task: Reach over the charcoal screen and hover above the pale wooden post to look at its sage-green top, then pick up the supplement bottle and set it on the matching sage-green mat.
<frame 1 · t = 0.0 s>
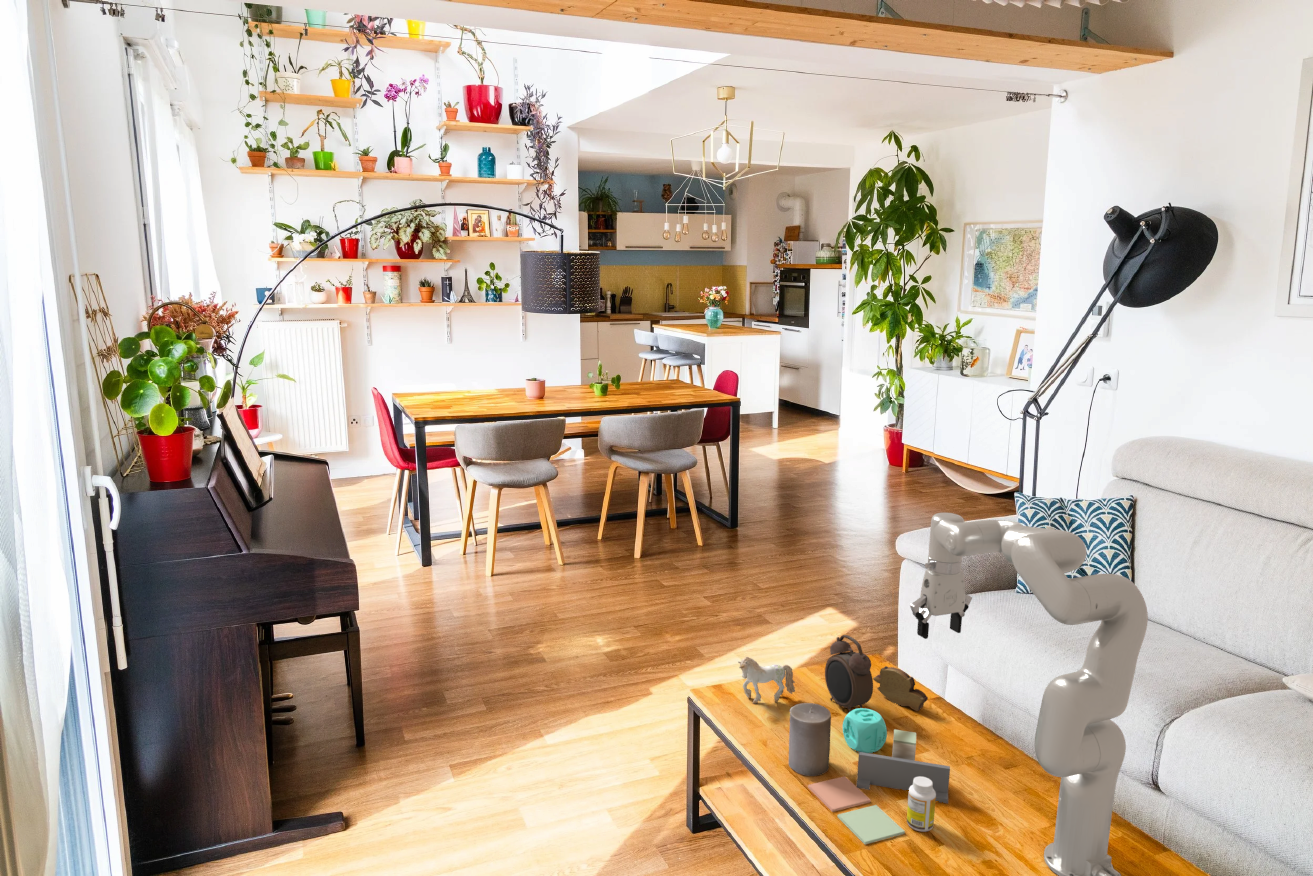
hand: (938, 633, 212), 31 cm above the table, tool pointing down, fingers open, 9 cm apart
decorative dice: (863, 746, 221), on the table
unicorn figurine: (764, 705, 240), on the table
marked post: (902, 775, 208), on the table
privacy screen: (901, 788, 202), on the table
supplement bottle: (919, 825, 189), on the table
wooden carving: (898, 704, 243), on the table
pillar candle: (807, 766, 211), on the table
alarm clock: (845, 708, 240), on the table
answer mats: (854, 809, 194), on the table
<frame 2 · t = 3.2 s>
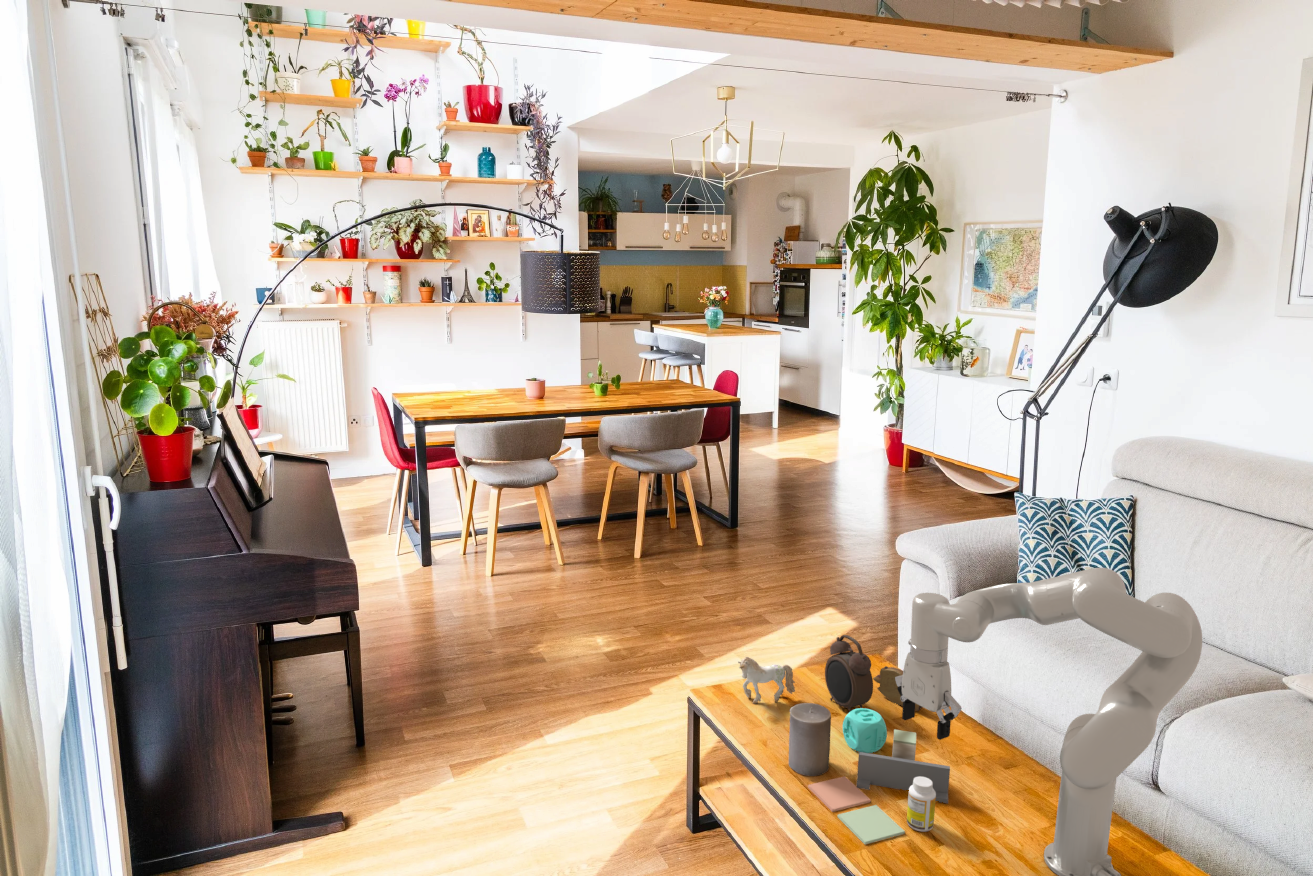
hand: (925, 727, 189), 20 cm above the table, tool pointing down, fingers open, 9 cm apart
nothing on the table moved.
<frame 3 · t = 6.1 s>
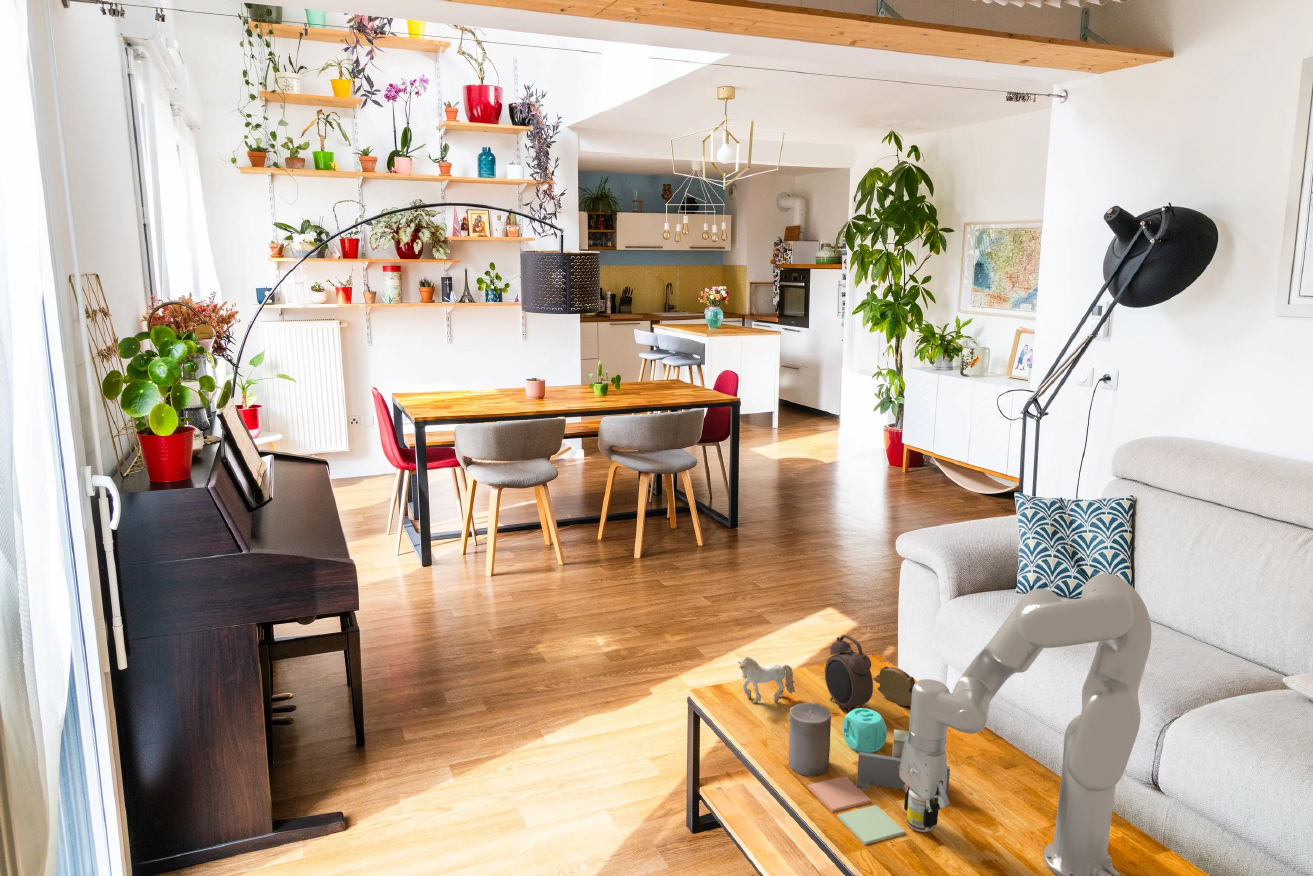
hand: (920, 816, 188), 2 cm above the table, tool pointing down, fingers closed on supplement bottle, 5 cm apart
supplement bottle: (919, 826, 189), on the table, touching gripper
everything else where it was.
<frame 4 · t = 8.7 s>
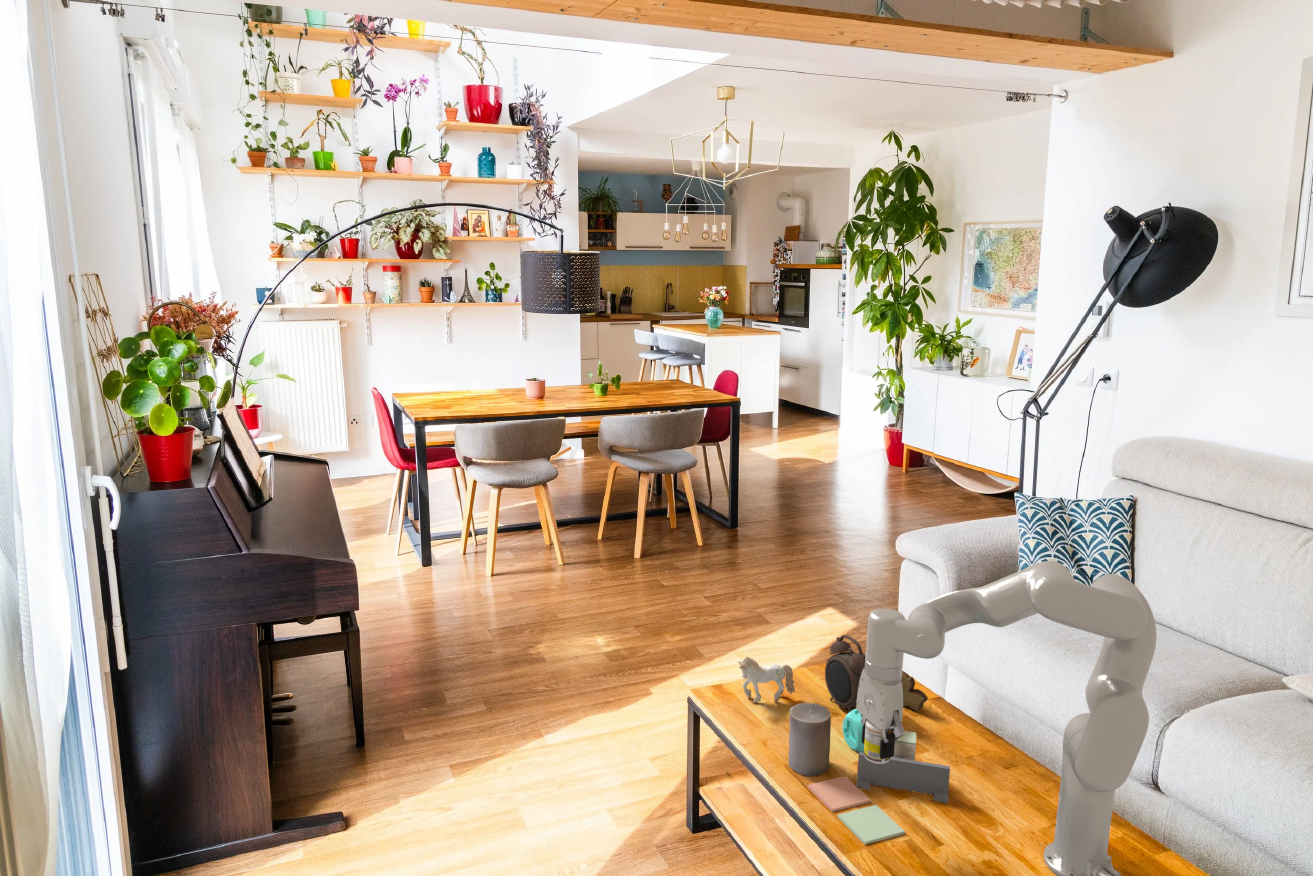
hand: (877, 749, 185), 18 cm above the table, tool pointing down, fingers closed on supplement bottle, 5 cm apart
supplement bottle: (876, 758, 186), point 15 cm above the table, touching gripper
everything else where it was.
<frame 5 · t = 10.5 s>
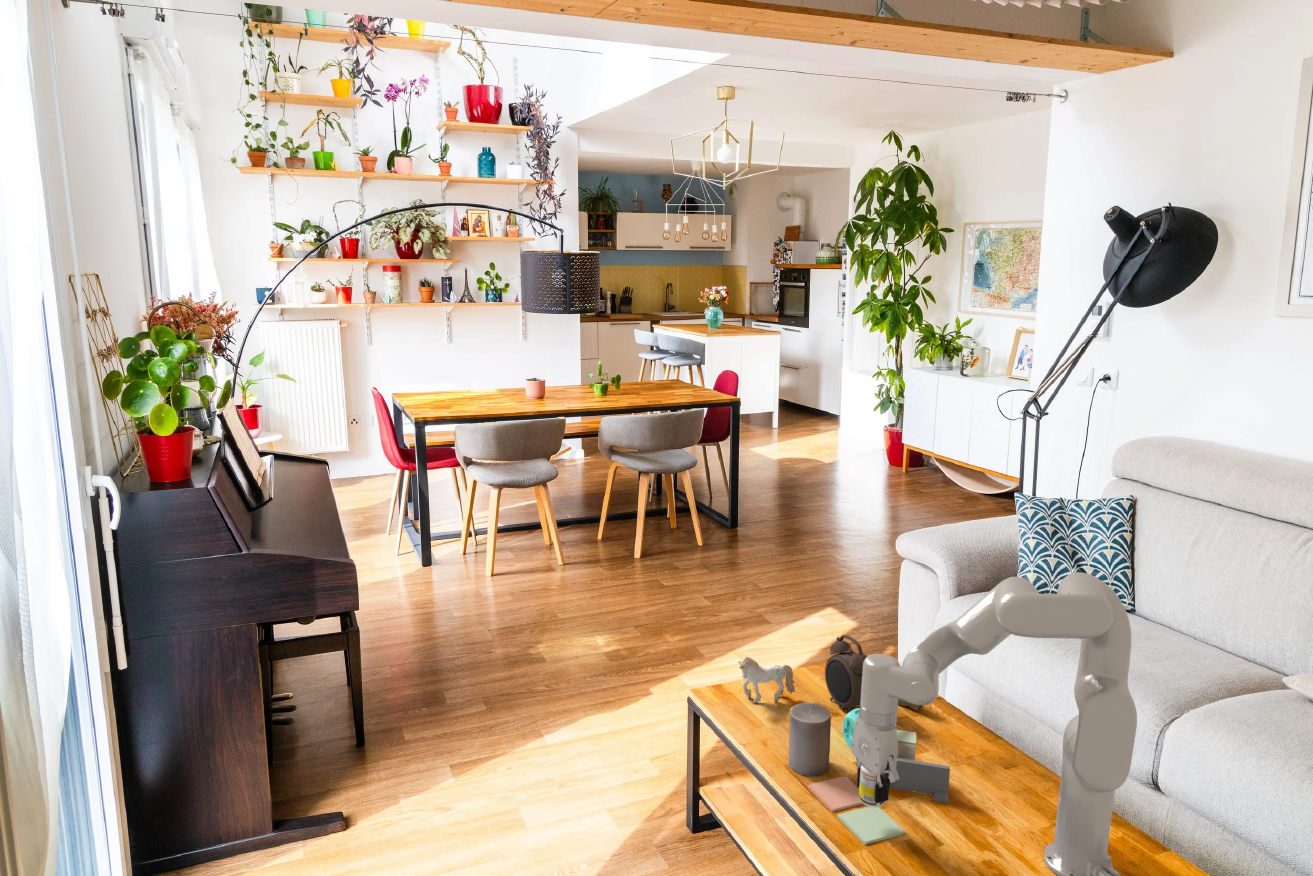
hand: (872, 792, 187), 8 cm above the table, tool pointing down, fingers closed on supplement bottle, 5 cm apart
supplement bottle: (871, 801, 188), point 5 cm above the table, touching gripper
everything else where it was.
when the fingers open (4 cm above the table, at t = 11.7 s): supplement bottle drops 1 cm, resting on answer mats.
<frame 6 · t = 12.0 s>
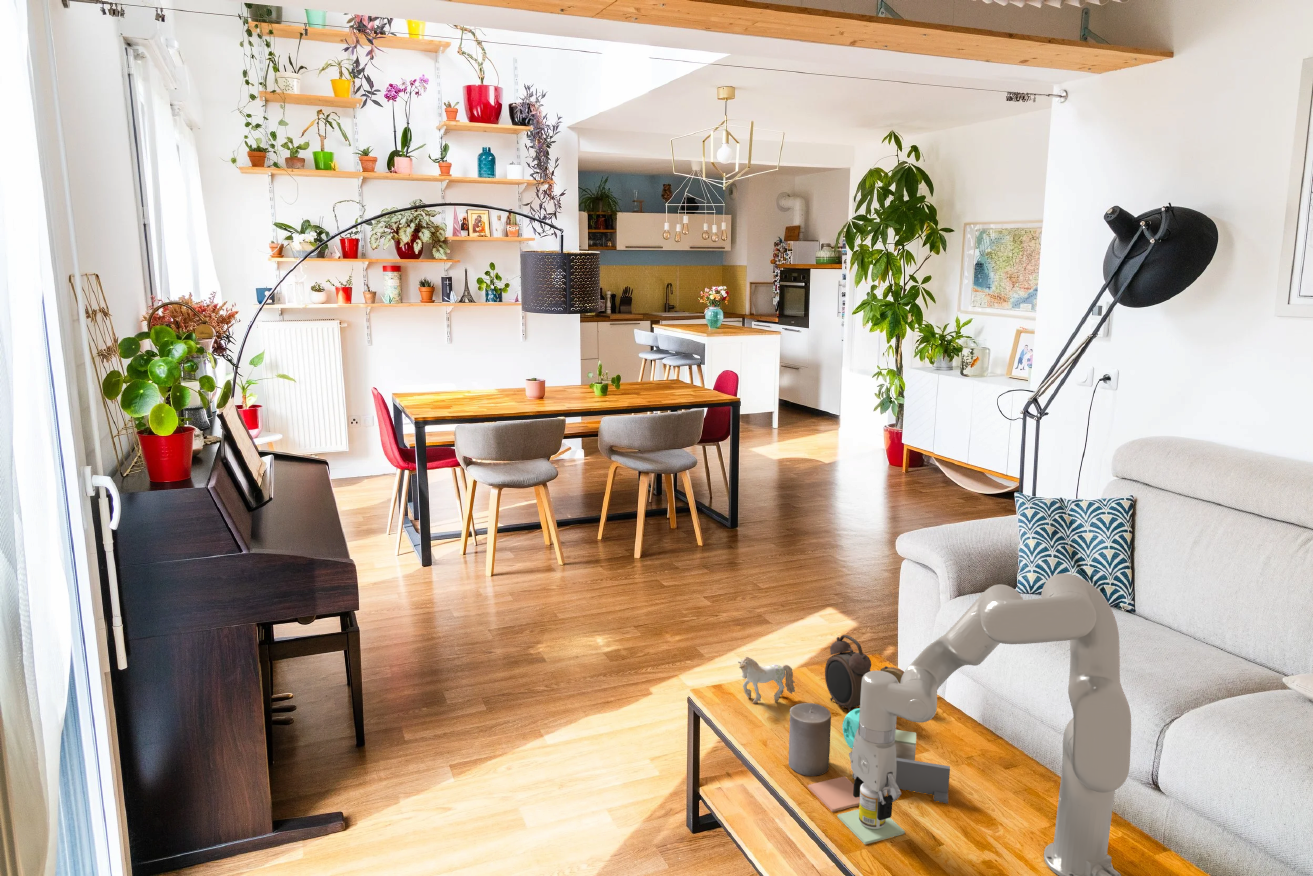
hand: (871, 806, 188), 4 cm above the table, tool pointing down, fingers open, 8 cm apart
supplement bottle: (871, 823, 189), resting on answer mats
everything else where it was.
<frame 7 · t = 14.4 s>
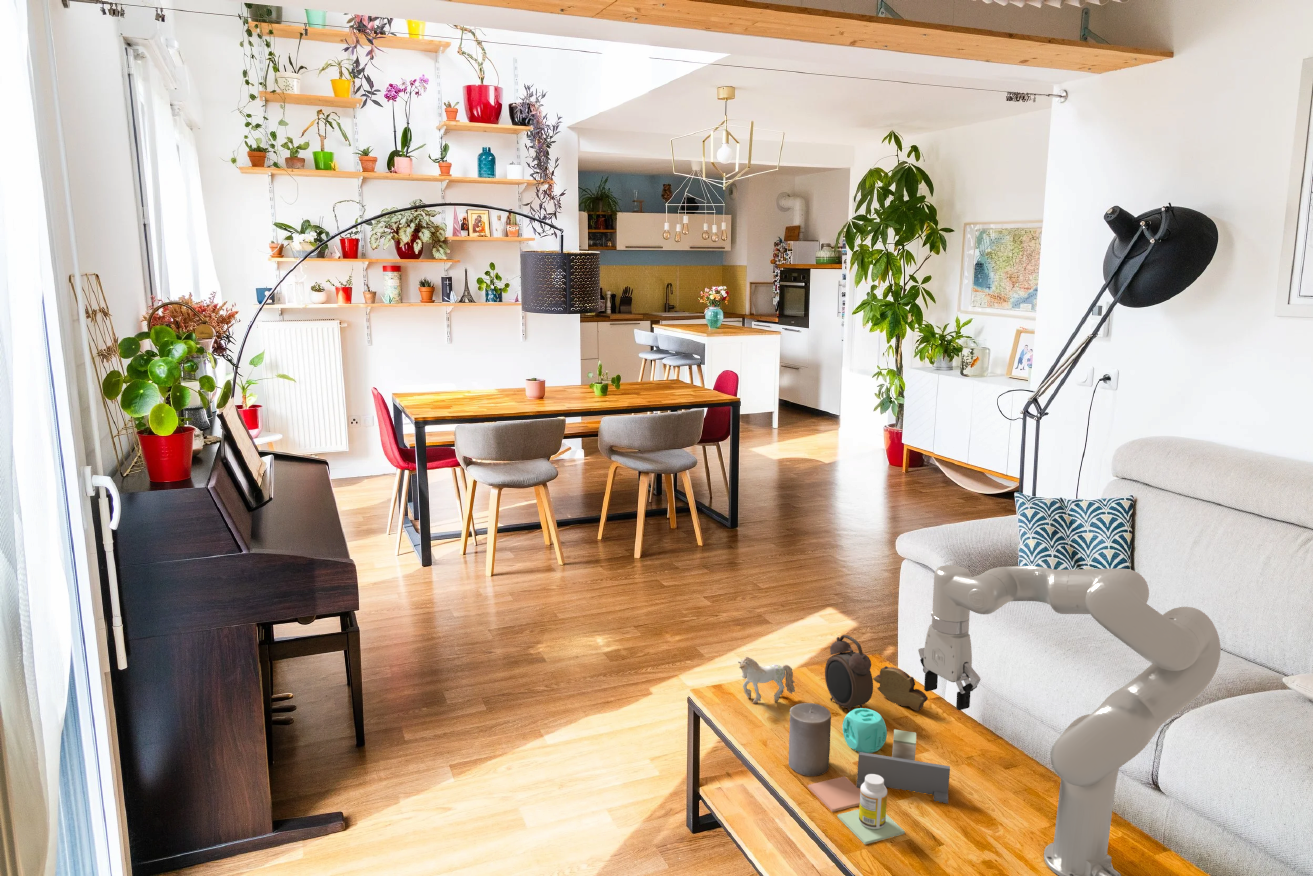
hand: (946, 699, 191), 25 cm above the table, tool pointing down, fingers open, 9 cm apart
nothing on the table moved.
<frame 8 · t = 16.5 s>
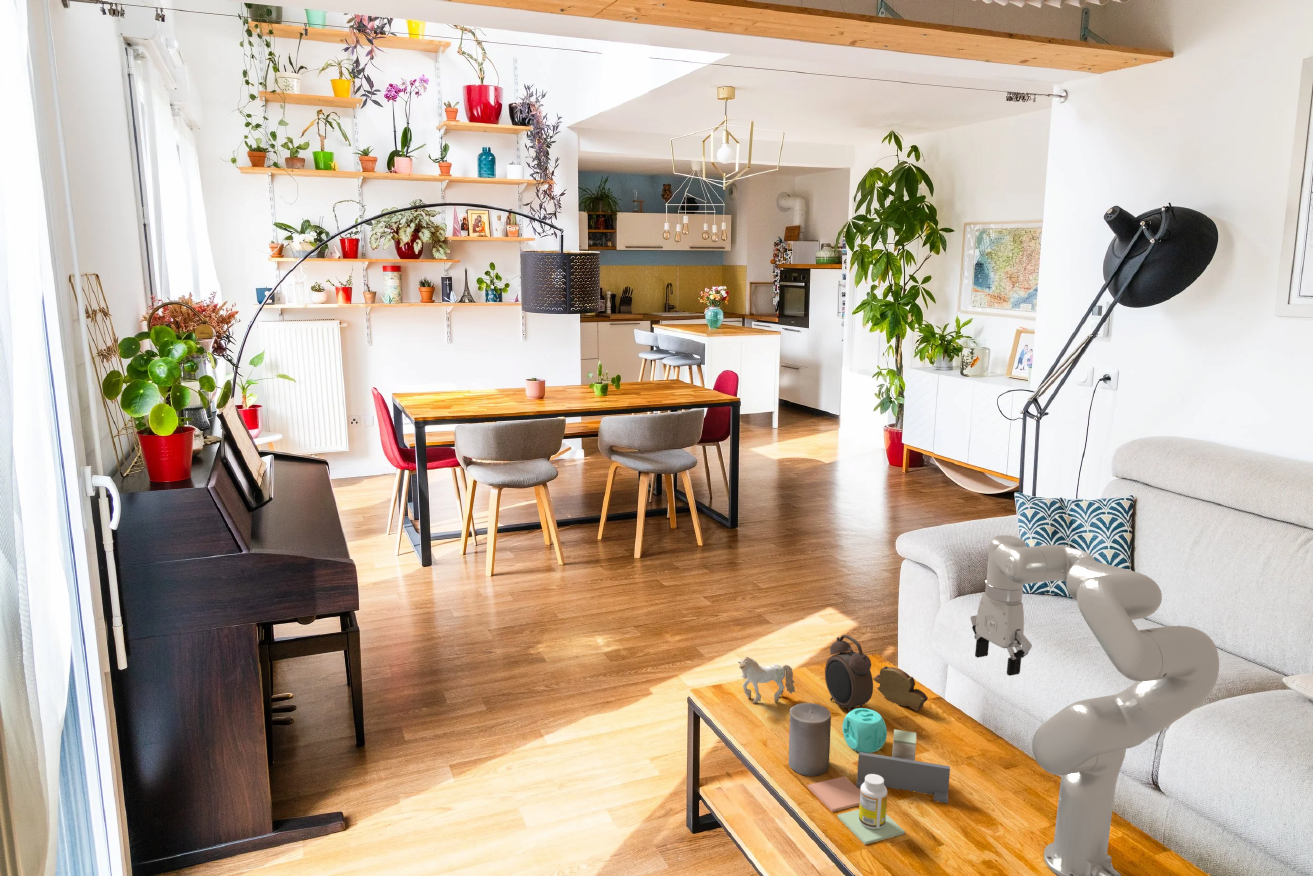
hand: (996, 665, 197), 30 cm above the table, tool pointing down, fingers open, 9 cm apart
nothing on the table moved.
at the end: supplement bottle inside the target area on the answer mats (0.2 cm from its centre), point 0.4 cm above the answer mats's base; supplement bottle tilted 0°; the gripper is holding nothing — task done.
